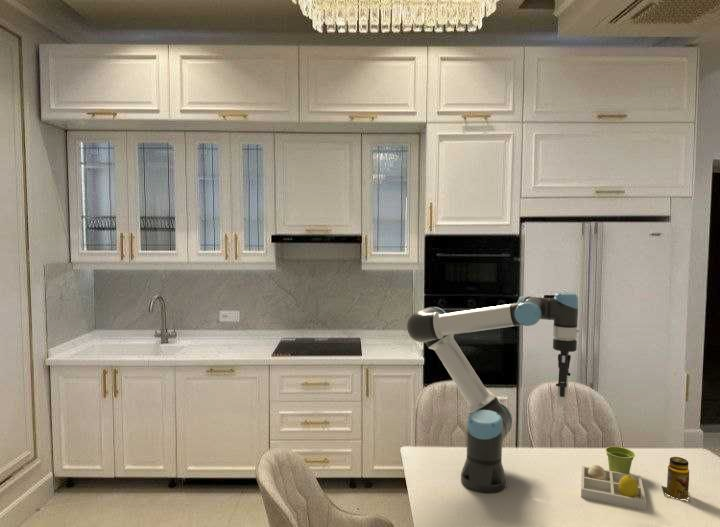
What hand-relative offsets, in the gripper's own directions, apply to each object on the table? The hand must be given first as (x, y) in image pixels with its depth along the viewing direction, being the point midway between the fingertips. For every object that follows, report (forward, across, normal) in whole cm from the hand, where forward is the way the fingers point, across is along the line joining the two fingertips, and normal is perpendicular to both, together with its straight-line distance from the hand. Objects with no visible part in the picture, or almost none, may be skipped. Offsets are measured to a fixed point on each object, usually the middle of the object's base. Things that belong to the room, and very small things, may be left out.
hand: (562, 399), depth 177 cm
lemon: (+28, -6, -20) cm, 35 cm away
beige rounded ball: (+28, +3, -12) cm, 30 cm away
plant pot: (+29, +14, -19) cm, 37 cm away
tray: (+29, -1, -16) cm, 33 cm away
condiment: (+29, +7, -35) cm, 46 cm away
